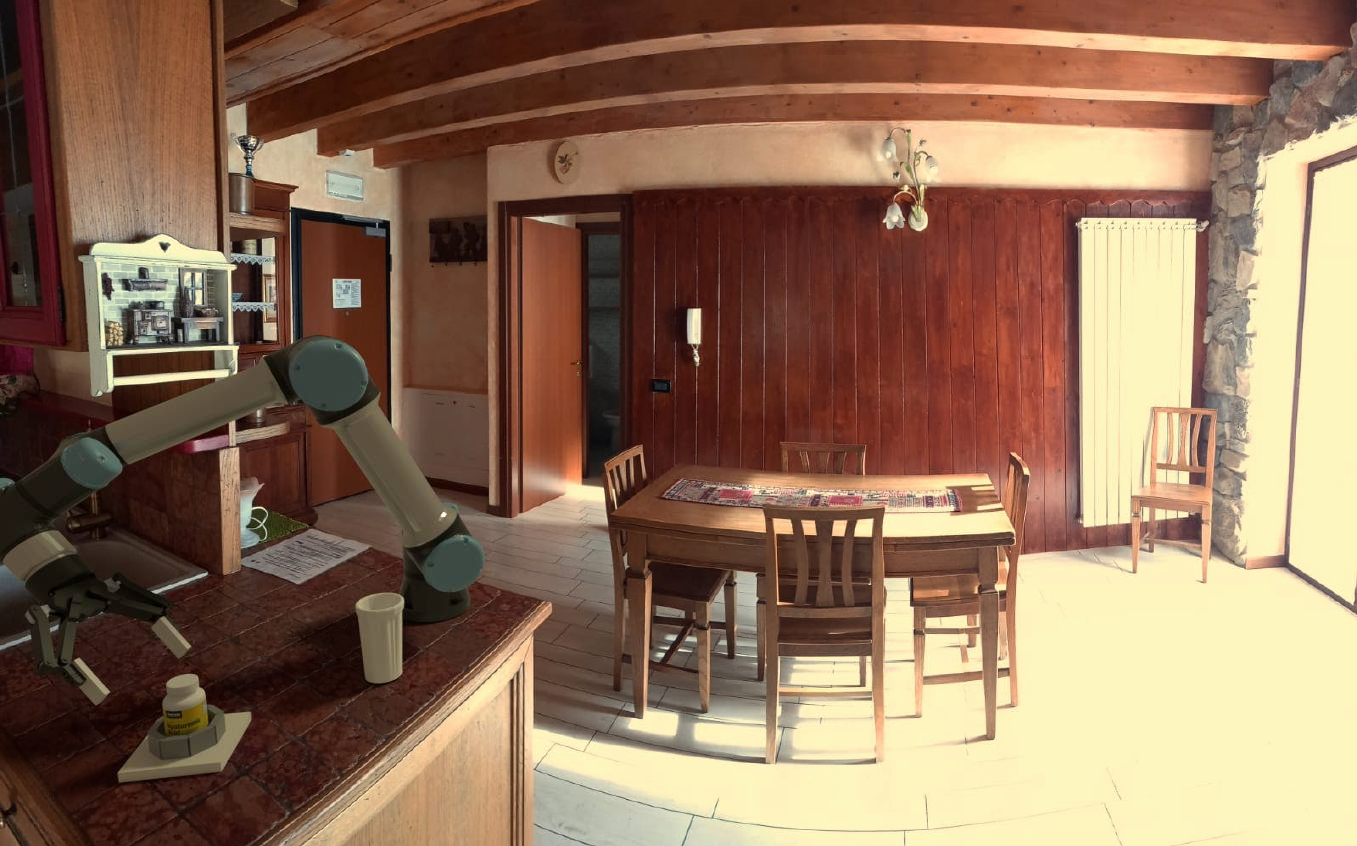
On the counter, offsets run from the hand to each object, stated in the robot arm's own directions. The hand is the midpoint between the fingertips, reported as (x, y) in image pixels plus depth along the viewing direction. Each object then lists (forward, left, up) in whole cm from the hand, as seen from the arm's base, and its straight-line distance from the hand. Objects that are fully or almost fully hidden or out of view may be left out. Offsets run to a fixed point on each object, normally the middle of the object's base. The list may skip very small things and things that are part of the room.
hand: (146, 674), depth 111 cm
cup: (-30, -15, -12) cm, 36 cm away
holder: (-5, +2, -12) cm, 13 cm away
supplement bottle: (-5, +2, -10) cm, 12 cm away
